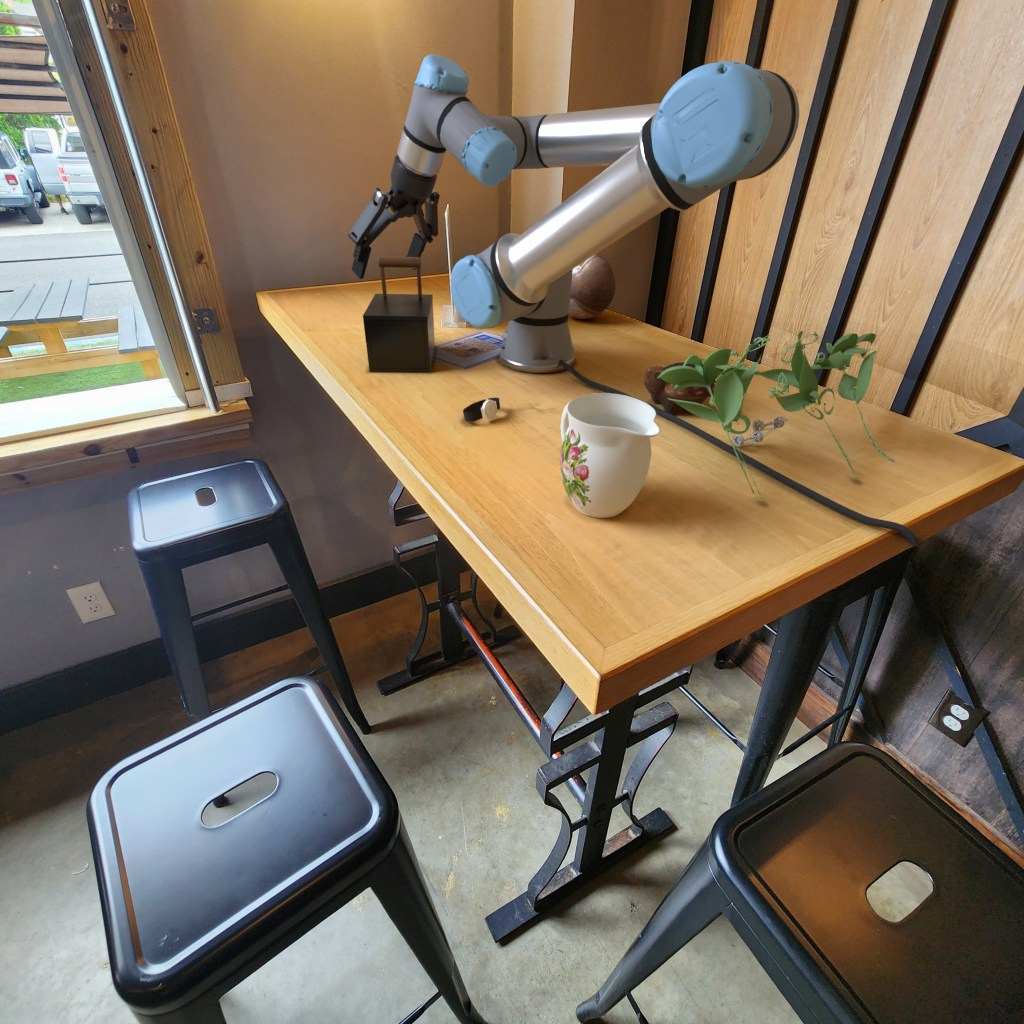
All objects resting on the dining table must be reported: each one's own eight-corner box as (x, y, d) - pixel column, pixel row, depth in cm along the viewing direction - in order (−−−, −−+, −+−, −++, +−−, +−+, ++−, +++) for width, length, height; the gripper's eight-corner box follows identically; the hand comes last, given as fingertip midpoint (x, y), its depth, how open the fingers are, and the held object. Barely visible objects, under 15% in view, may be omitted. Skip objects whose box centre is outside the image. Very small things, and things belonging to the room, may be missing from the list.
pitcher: (591, 460, 83) (602, 369, 75) (671, 526, 70) (695, 425, 62) (525, 475, 79) (530, 382, 71) (597, 549, 66) (612, 444, 58)
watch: (477, 429, 90) (477, 408, 88) (455, 420, 93) (454, 399, 91) (507, 413, 96) (507, 393, 93) (485, 405, 98) (485, 385, 96)
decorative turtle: (624, 402, 101) (633, 357, 97) (694, 397, 106) (705, 354, 102) (655, 422, 93) (666, 374, 89) (729, 416, 98) (742, 370, 94)
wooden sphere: (544, 322, 138) (548, 256, 130) (559, 306, 150) (564, 245, 141) (605, 330, 134) (613, 262, 126) (616, 313, 146) (624, 250, 138)
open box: (380, 346, 121) (375, 298, 115) (434, 347, 121) (432, 299, 116) (369, 372, 109) (363, 320, 103) (430, 372, 110) (427, 321, 104)
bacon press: (375, 297, 116) (371, 253, 111) (432, 298, 116) (430, 254, 112) (363, 320, 103) (357, 271, 98) (427, 320, 104) (424, 272, 99)
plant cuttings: (857, 492, 91) (801, 372, 97) (960, 446, 75) (886, 307, 81) (674, 536, 80) (622, 398, 86) (750, 493, 64) (681, 327, 70)
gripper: (453, 151, 106) (419, 250, 122) (344, 149, 90) (320, 264, 105) (479, 177, 105) (441, 274, 120) (373, 179, 88) (344, 291, 104)
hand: (384, 269), depth 113 cm, fingers open, 13 cm apart
